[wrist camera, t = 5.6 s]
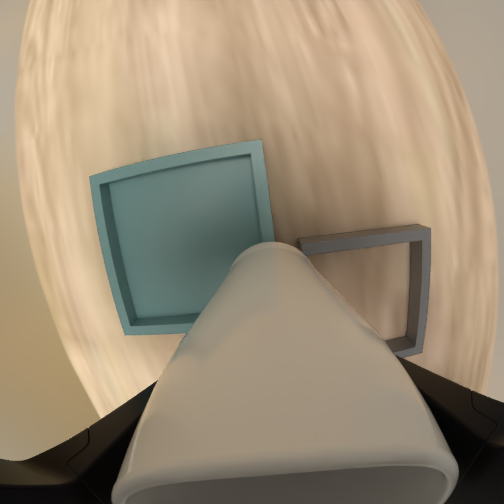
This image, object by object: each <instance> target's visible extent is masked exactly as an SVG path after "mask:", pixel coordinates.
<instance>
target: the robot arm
mask: <svg viewBox="0 0 504 504" xmlns="http://www.w3.org/2000/svg"><path fill="white" fill-rule="evenodd" d="M396 357H397V358H398V360H399V361H400V362H401V364H402V365H403V367H404V368H405V370H406V371H407V373H408V374H409V376H410V377H411V379H412V380H413V382H414V383H415V385H416V386H417V388H418V390H419V391H420V393H421V394H422V396H423V398H424V400H425V401H426V403H427V405H428V406H429V408H430V410H431V412H432V414H433V415H434V417H435V419H436V421H437V423H438V425H439V427H440V429H441V431H442V433H443V435H444V437H445V439H446V441H447V443H448V445H449V448H450V450H451V452H452V454H453V456H454V457H455V459H456V461H457V464H458V468H459V477H458V481H457V484H456V487H455V489H454V490H453V492H452V494H451V495H450V497H449V498H448V500H447V501H446V502H445V503H444V504H504V403H503V402H500V401H497V400H494V399H492V398H489V397H487V396H484V395H482V394H480V393H477V392H475V391H471V390H470V389H468V388H466V387H464V386H461V385H459V384H457V383H455V382H453V381H450V380H448V379H446V378H444V377H442V376H440V375H437V374H435V373H433V372H431V371H429V370H427V369H424V368H422V367H420V366H418V365H416V364H414V363H412V362H410V361H407V360H405V359H403V358H401V357H399V356H397V355H396ZM157 381H158V380H157ZM157 381H156V382H154V383H153V384H152V385H150V386H149V387H147V388H146V389H145V390H143V391H142V392H140V393H139V394H137V395H136V396H134V397H133V398H132V399H130V400H129V401H127V402H126V403H124V404H123V405H121V406H120V407H118V408H117V409H115V410H114V411H112V412H111V413H109V414H108V415H106V416H105V417H103V418H102V419H100V420H99V421H97V422H96V423H94V424H93V425H91V426H90V427H89V428H86V429H85V430H83V431H82V432H80V433H79V434H77V435H75V436H74V437H72V438H70V439H69V440H67V441H65V442H63V443H61V444H59V445H57V446H55V447H53V448H51V449H49V450H47V451H45V452H43V453H41V454H39V455H36V456H34V457H32V458H30V459H27V460H23V461H10V460H4V459H0V504H112V501H111V492H112V489H113V486H114V484H115V482H116V479H117V477H118V474H119V471H120V468H121V465H122V462H123V460H124V457H125V454H126V452H127V449H128V446H129V444H130V441H131V439H132V436H133V434H134V431H135V429H136V426H137V424H138V422H139V419H140V417H141V415H142V413H143V410H144V408H145V406H146V404H147V402H148V399H149V397H150V395H151V393H152V391H153V389H154V387H155V385H156V383H157Z"/></svg>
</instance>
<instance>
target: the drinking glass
mask: <svg viewBox="0 0 504 504" xmlns="http://www.w3.org/2000/svg"><path fill="white" fill-rule="evenodd" d="M458 477H459V468H458V464H457V461H456V459H455V457H454V456H453V454H452V452H451V450H450V448H449V445H448V443H447V441H446V439H445V437H444V435H443V433H442V431H441V429H440V427H439V425H438V423H437V421H436V419H435V417H434V415H433V414H432V412H431V410H430V408H429V406H428V405H427V403H426V401H425V400H424V398H423V396H422V394H421V393H420V391H419V390H418V388H417V386H416V385H415V383H414V382H413V380H412V379H411V377H410V376H409V374H408V373H407V371H406V370H405V368H404V367H403V365H402V364H401V362H400V361H399V360H398V358H397V357H396V355H395V354H394V353H393V351H392V350H391V349H390V347H389V346H388V345H387V344H386V342H385V341H384V340H383V339H382V338H381V336H380V335H379V334H378V333H377V332H376V331H375V329H374V328H373V327H372V326H371V325H370V324H369V323H368V322H367V321H366V320H365V319H364V318H363V317H362V316H361V314H360V313H359V312H358V311H357V310H356V309H355V308H354V307H353V306H352V305H351V304H350V303H349V302H348V301H347V300H346V299H345V298H344V297H343V296H342V295H341V294H340V293H339V292H338V291H337V290H336V289H335V288H334V287H333V286H332V285H331V284H330V283H329V282H328V281H327V280H326V279H325V278H324V277H323V276H322V275H321V274H320V273H319V272H318V271H317V270H316V269H315V267H314V266H313V265H312V263H311V261H310V260H309V259H308V258H307V256H306V255H305V254H304V253H302V252H301V251H300V250H298V249H297V248H295V247H293V246H291V245H289V244H286V243H281V242H263V243H259V244H256V245H253V246H251V247H249V248H248V249H246V250H245V251H243V252H242V253H241V254H240V255H239V256H238V257H237V258H236V259H235V260H234V262H233V263H232V265H231V267H230V269H229V271H228V274H227V276H226V277H225V279H224V280H223V282H222V283H221V285H220V286H219V288H218V289H217V290H216V292H215V293H214V295H213V296H212V298H211V299H210V301H209V302H208V303H207V305H206V306H205V308H204V309H203V310H202V312H201V313H200V315H199V316H198V317H197V319H196V320H195V322H194V323H193V325H192V326H191V327H190V329H189V330H188V332H187V333H186V335H185V336H184V338H183V339H182V341H181V342H180V344H179V345H178V347H177V349H176V350H175V352H174V353H173V355H172V357H171V358H170V360H169V361H168V363H167V365H166V367H165V368H164V370H163V372H162V374H161V376H160V377H159V379H158V381H157V383H156V385H155V387H154V389H153V391H152V393H151V395H150V397H149V399H148V402H147V404H146V406H145V408H144V410H143V413H142V415H141V417H140V419H139V422H138V424H137V426H136V429H135V431H134V434H133V436H132V439H131V441H130V444H129V446H128V449H127V452H126V454H125V457H124V460H123V462H122V465H121V468H120V471H119V474H118V477H117V479H116V482H115V484H114V486H113V489H112V492H111V501H112V504H444V503H445V502H446V501H447V500H448V498H449V497H450V495H451V494H452V492H453V490H454V489H455V487H456V484H457V481H458Z"/></svg>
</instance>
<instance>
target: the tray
mask: <svg viewBox="0 0 504 504" xmlns="http://www.w3.org/2000/svg"><path fill="white" fill-rule="evenodd" d="M89 178H90V186H91V193H92V200H93V207H94V213H95V219H96V224H97V230H98V235H99V240H100V245H101V249H102V254H103V259H104V263H105V267H106V271H107V275H108V279H109V283H110V287H111V291H112V295H113V298H114V302H115V305H116V309H117V312H118V315H119V319H120V322H121V325H122V328H123V331H124V334H125V335H157V334H180V333H187V332H188V330H189V329H190V327H191V326H192V325H193V323H194V322H195V320H196V319H197V317H198V316H199V315H200V313H201V312H202V310H203V309H204V308H205V306H206V305H207V303H208V302H209V301H210V299H211V298H212V296H213V295H214V293H215V292H216V290H217V289H218V288H219V286H220V285H221V283H222V282H223V280H224V279H225V277H226V276H227V274H228V271H229V269H230V267H231V265H232V263H233V262H234V260H235V259H236V258H237V257H238V256H239V255H240V254H241V253H242V252H243V251H245V250H246V249H248V248H249V247H251V246H253V245H256V244H259V243H263V242H275V236H274V228H273V220H272V213H271V205H270V198H269V190H268V183H267V175H266V168H265V161H264V154H263V147H262V140H254V141H247V142H240V143H233V144H227V145H221V146H215V147H209V148H204V149H199V150H193V151H188V152H183V153H179V154H174V155H169V156H165V157H160V158H156V159H152V160H147V161H143V162H139V163H135V164H131V165H128V166H124V167H120V168H116V169H113V170H109V171H106V172H102V173H99V174H96V175H92V176H89Z"/></svg>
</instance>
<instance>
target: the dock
mask: <svg viewBox="0 0 504 504" xmlns="http://www.w3.org/2000/svg"><path fill="white" fill-rule="evenodd" d="M298 240H299V249H300V251H301V252H302V253H304V254H305V255H314V254H322V253H330V252H337V251H345V250H353V249H360V248H368V247H375V246H383V245H390V244H398V243H405V242H410V251H411V259H410V295H409V311H408V323H407V333H406V336H405V337H401V338H396V339H392V340H387V341H385V342H386V344H387V345H388V346H389V347H390V349H391V350H392V351H393V353H394V354H395V355H397V356H399V357H401V358H405V357H409V356H412V355H416V354H420V353H422V350H423V344H424V337H425V329H426V321H427V311H428V301H429V287H430V267H431V228H429V227H426V226H422V225H419V224H416V225H407V226H398V227H390V228H381V229H373V230H364V231H356V232H348V233H339V234H331V235H323V236H315V237H306V238H298Z"/></svg>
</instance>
